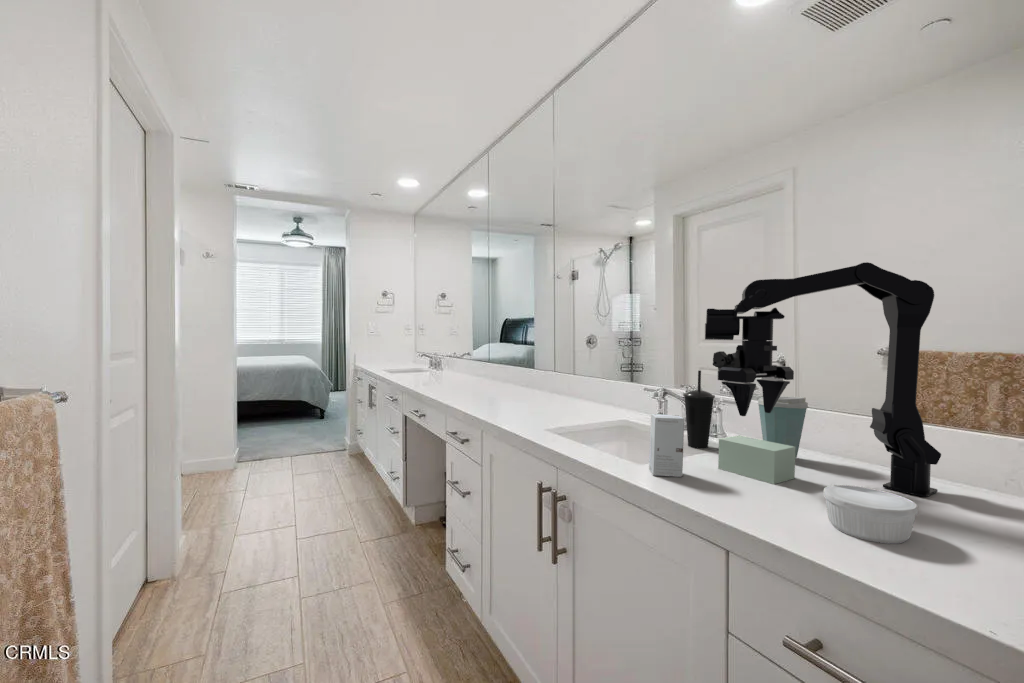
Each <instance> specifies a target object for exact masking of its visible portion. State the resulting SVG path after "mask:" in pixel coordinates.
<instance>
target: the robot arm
mask: <svg viewBox="0 0 1024 683" xmlns="http://www.w3.org/2000/svg"><path fill="white" fill-rule="evenodd" d="M851 286H858V287H859V288H861V289H862V290H863V291H865V292H867V293H868V294H869V295H870V296H872V297H873V298H876V299H877V300H880V301H881V302H882V310H883V315H884V317H885V321H886V323H887V325H888V328H889V338H888V355H887V367H886V368H887V369H886V382H885V383H886V384H885V385H886V386H885V399H884V402H883V403H882V405H881V407H880V409H879V408H876V407H872V408H871V417H872V420H871V424H870V425H869V428H870V429H872V430H873V434H874V436H875V438H876V439H877V440H879V441H880V442H881V443H882V444H883V445H884V448H885V450H886V452H887V453H891V455H890V478H889V479H890V480H889V482H886V483H883V484H882V488H885V489H888V490H893V491H898V492H902V493H906V494H910V495H913V496H917V497H918V496H919V497H922V498H927V497H930V496H932V495H933V494H936V493H937V492H938V491H939V490H938V489H937V488H935V487H931V467H932V466H931V465H934V466H935V465H938V464H939V461H940V460H941V457H942V453H941V452H940V451H939V450H937V449H936V448H935V447H934V446H933V445H932V444H931V443H929V442H928V441H927V440H926V437H925V436H926V435H925V429H924V422H923V419H922V416H921V414H920V412H919V410H918V406H917V392H918V391H917V390H918V377H919V376H918V375H919V363H920V362H919V361H920V360H919V359H920V345H921V332H922V327H923V326H924V324H925V323H926V321H927V320H928V317H929V315H930V313H931V309H932V306H933V303H934V299H935V291H934V288H933V287H932V286H931V285H930V284H928V283H927V282H925V281H923V280H917V279H913V280H912V279H909V278H908V277H907V276H906V277H905V276H903V275H901V274H898V273H895V272H892V271H890V270H887V269H884V268H882V267H879V266H878V265H875V264H874V263H872V262H867V261H866V262H861V263H859V264H856V265H851V266H847V267H846V266H845V267H842V268H838V269H833V270H829V271H823V272H817V273H813V274H810V275H804V276H799V277H795V278H769V279H768V278H767V279H757V280H754V281H751V282H750V283H749V284H748V285H747V286H746V287H745V288H744V289H743V291H742V294H741V300H740V301H739V303H737V304H735V305H734V308H733V309H725V308H724V309H721V308H720V309H719V308H718V309H717V308H706V315H705V316H706V317H705V318H706V319H705V323H704V340H708V341H711V340H712V341H733V340H734V337H735V336H740V332H741V331H742V332H741V333H742V335H741V339H742V340H741V344H738V345H737V346H736V347H735V348H736V350H735V352H733V353H726V352H725V351H720V350H719V351H716V352H714V353H713V358H712V366H713V367H715V368H717V369H718V370H717V381H721V384H722V385H724V386H726V387H727V388H728V389H729V390H730V391H731V394H732V396H733V398H734V403H735V405H736V408H737V411H738V414H739V416H741V417H746V416H747V414H748V412H749V408H750V407H751V406H750V405H751V403H752V399H753V396H754V393H755V390H756V386H757V384H756V383H755V381H756V382H757V383H758V384H759V385H760V387H761V389H762V390H761V391H762V397H763V403H764V411H765V412H766V413H771V411H772V409H773V408H774V406H775V404H776V402H777V401H778V399H779V397H782V394H783V392H784V391H785V389H786V388H787V386H788V385H789V384H790V383H791V380H792V381H793V380H794V376H795V375H794V374H795V372H794V370H793V369H792V368H791V367H790V366H787V365H785V366H784V365H776V364H773V352H774V351H778V345H773V342H774V341H773V339H774V338H773V337H774V320H783V319H785V317H786V316H785V315H784V314H783V313H782V312H780V311H779V310H778V308H777V307H773V308H771V310H769V311H768V310H767V311H766V310H765V311H761V310H760V309H764V308H766V307H769V306H772V305H775V304H777V303H780V302H783V301H786V300H788V299H791V298H793V297H799V296H807V295H810V294H815V293H819V292H825V291H831V290H836V289H840V288H844V287H845V288H847V287H851ZM750 310H760V311H754V312H753V315H748V316H747V315H745V316H743V314H745V313H747V312H749V311H750ZM739 315H740V316H739ZM741 320H742V326H741ZM740 326H741V327H740ZM740 328H742V330H741V329H740ZM760 378H761V379H760Z"/></svg>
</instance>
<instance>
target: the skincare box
mask: <svg viewBox="0 0 1024 683" xmlns="http://www.w3.org/2000/svg"><path fill="white" fill-rule="evenodd" d="M649 429H650V431H649V457H648V458H649V461H648V463H649V464H648V470H649V472H650V473H651V475H652V476H653V477H654V476H655V477H656V476H661V477H676V478H677V477H678V478H680V477H681V478H682V477H683V470H684V469H683V468H684V466H683V465H684V440H685V439H684V437H685V436H684V435H685V418H684V417H682V416H680V415H677V414H658V413H657V414H656V413H650V428H649Z"/></svg>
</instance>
